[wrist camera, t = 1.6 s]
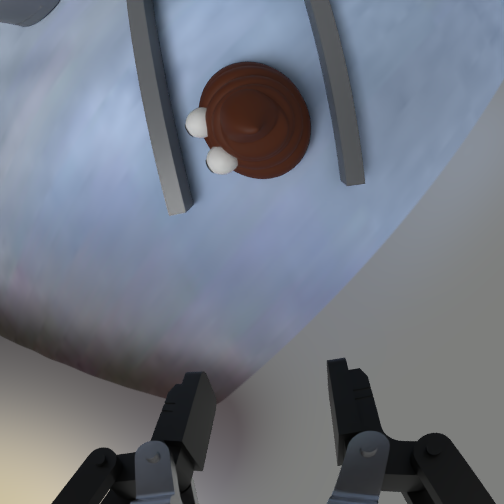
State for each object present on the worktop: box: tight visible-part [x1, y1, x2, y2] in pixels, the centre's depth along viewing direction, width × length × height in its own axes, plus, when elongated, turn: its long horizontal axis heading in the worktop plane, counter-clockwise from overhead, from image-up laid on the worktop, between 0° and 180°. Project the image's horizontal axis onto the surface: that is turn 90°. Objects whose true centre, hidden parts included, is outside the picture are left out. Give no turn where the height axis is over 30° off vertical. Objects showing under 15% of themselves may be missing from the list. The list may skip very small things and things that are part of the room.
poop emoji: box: [185, 62, 311, 179], centre depth 20 cm, size 10×8×9 cm
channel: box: [127, 0, 365, 216], centre depth 20 cm, size 22×16×5 cm
